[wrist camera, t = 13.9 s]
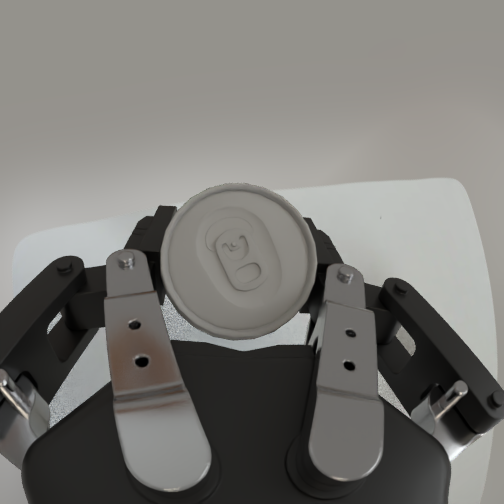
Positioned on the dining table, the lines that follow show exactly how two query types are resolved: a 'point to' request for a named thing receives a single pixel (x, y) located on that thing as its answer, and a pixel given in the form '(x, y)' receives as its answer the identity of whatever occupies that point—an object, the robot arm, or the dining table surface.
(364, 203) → the dining table surface
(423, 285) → the dining table surface
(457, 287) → the dining table surface
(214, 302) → the beverage can
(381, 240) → the dining table surface
